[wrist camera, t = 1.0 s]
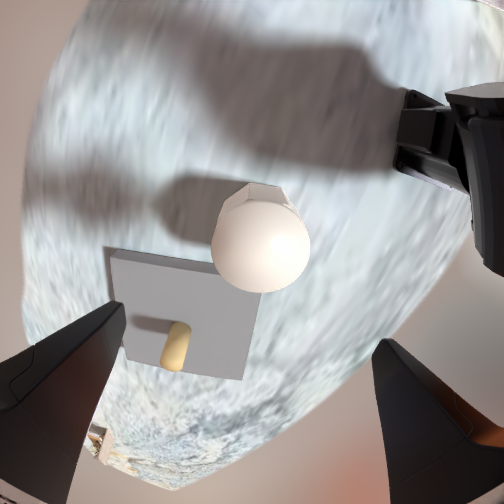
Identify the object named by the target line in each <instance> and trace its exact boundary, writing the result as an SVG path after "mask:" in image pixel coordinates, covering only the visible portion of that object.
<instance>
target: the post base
mask: <svg viewBox="0 0 504 504" xmlns="http://www.w3.org/2000/svg"><path fill="white" fill-rule="evenodd" d="M110 264H111V273H112V281H113V289H114V296H115V301H118V302H122V303H123V304H124V307H125V314H126V321H127V324H126V329H125V332H124V335H123V338H122V340H123V345H124V349H125V354H126V358H127V360H131V361H135V362H139V363H143V364H148V365H152V366H156V367H161V368H164V369H166V370H168V371H172V372H177V371H181V372H187V373H192V374H198V375H204V376H211V377H218V378H225V379H234V380H242V378H243V374H244V369H245V365H246V361H247V356H248V352H249V348H250V343H251V339H252V334H253V330H254V325H255V321H256V316H257V312H258V307H259V302H260V298H261V293H255V292H248V291H245V290H241V289H239V288H237V287H235V286H233V285H231V284H230V283H229V282H227V281H226V280H225V279H224V278H223V277H222V276H221V275H220V273H219V272H218V271H217V269H216V267H215V265H214V264H212V263H205V262H198V261H192V260H185V259H178V258H172V257H166V256H159V255H153V254H147V253H140V252H134V251H128V250H122V249H117V250H116V251H115V252H114V253H113V254H112V255H111V256H110Z"/></svg>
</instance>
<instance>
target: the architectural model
mask: <svg viewBox="0 0 504 504" xmlns="http://www.w3.org/2000/svg"><path fill="white" fill-rule="evenodd" d="M87 436H88V437H89V439H90V440H91V441H92V442H93V446H94V447H95V446H96V447H99V448H98V450H97V449H96V450H97V451H98V452H99V453H98V454H97V455H95V456H94V459H97V460H99V461H101V462H102V463H103V464H104V465H105V466H107V462H108V459H109V455H110V452H111V449H112V445H113V442H114V438H113V436H112V435H111V433H110V431H109V430H108V429H107V430H106V433H104V434H103V435H101V436H99V437H98V436H95V435H92V434H90V433H87ZM98 441H99V442H101V443H102V445H101V444H100V443H99V442H98ZM96 453H97V452H96ZM96 453H95V454H96Z"/></svg>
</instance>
